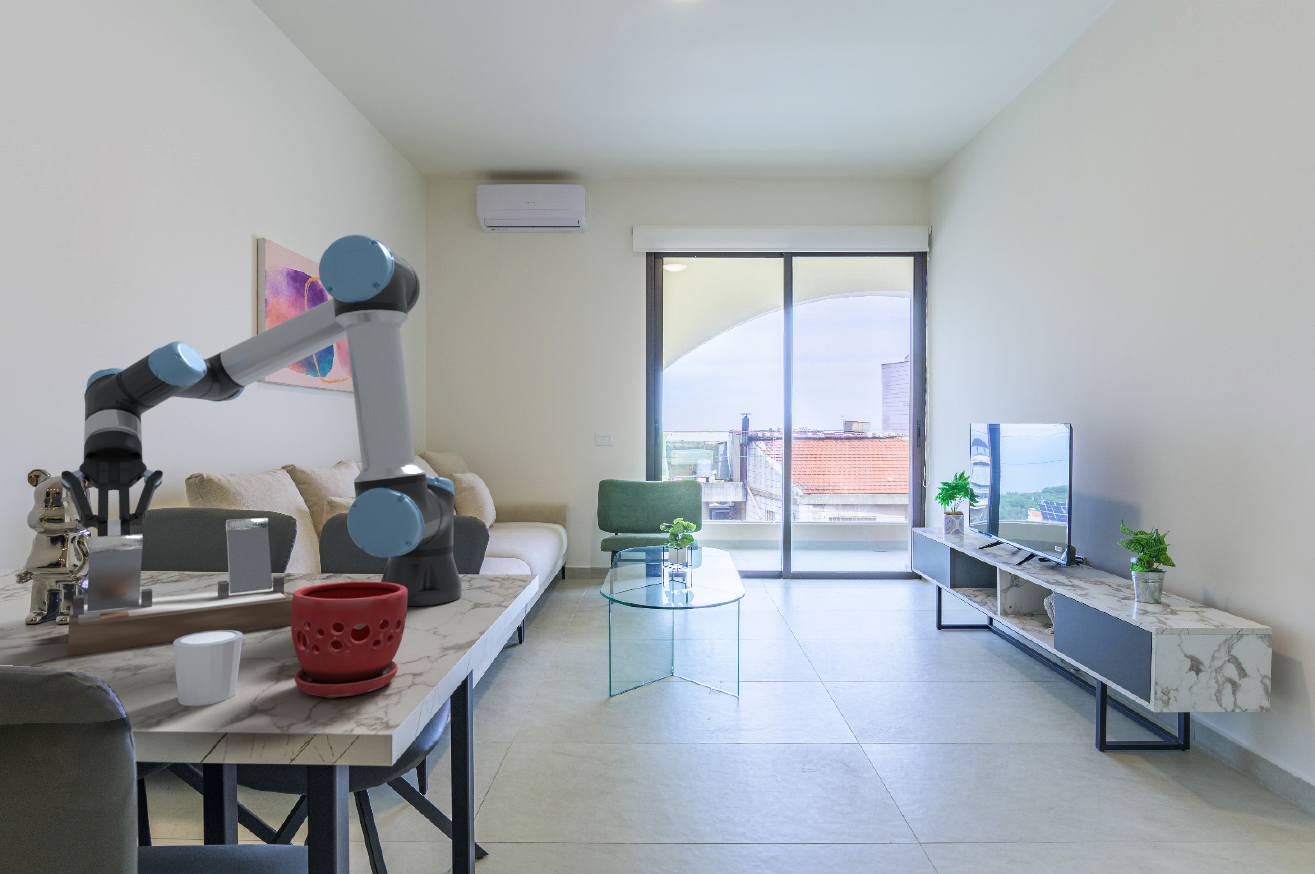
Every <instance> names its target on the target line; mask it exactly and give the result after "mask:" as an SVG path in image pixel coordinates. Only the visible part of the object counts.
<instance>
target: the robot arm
mask: <svg viewBox="0 0 1315 874" xmlns="http://www.w3.org/2000/svg"><path fill="white" fill-rule="evenodd" d="M318 276H319V281H320V283H321V285H322V287H323V288H324V290H325V291H326V293H327V294H328V295H330V296H331V297H332V298H331V299H329V300H327V301H326V300H325V301H323V302H322V303H320V304H318V305H315V306H314V307H312V308H309V309H307V310H306V311H304V312H301V313H299V314H297V315H295V316H292V317H290V318H289V319H287V320H285V321H283V322H281V323H278V324H276V325H275V326H272V327H270V328H269V329H266V330H264V331H262V332H259V333H257V334H256V335H253V336H252V337H250V338H247V339H245V340H243V341H241V342H239V343H237V344H234V345H233V346H231V347H229V348H227V349H224V350H222V351H220V352H218V353H216V354H215V355H212V356H210V357H207V358H203V357H202V355H201V354H200V353H199V352H198V351H197V350H196V349H195V348H193V347H192V346H189V345H188V344H187V343H185V342H182V341H172V342H170V343H167V344H166V345H164V346H161V347H158V348H156V349H154V350H153V351H152V352H151V353H149V354H147V355H146V356H144V357H142V358H141V359H139V360H138V361H136V362H134V363H133V364H131V365H130V366H128V367H126V368H124V369H123V368H120V367H110V368H107V369H99V370H97V371H95V372H94V373H92V374H91V375H90V376H89V377H88V378H87V382H86V389H85V392H84V396H83V397H84V429H83V430H84V431H83V433H84V434H83V437H84V438H83V439H84V440H83V442H84V444H83V461H82V463H81V464H80V465H79V467H78V469H76V470H74V471H71V470H64V471H61V474H60V478H61V486H62V487H63V488H64V489H66V491H68V492H69V494H70V498H71V501H72V503H73V504H74V507H75V511H76V513H77V516H78V518H79V521H80V523H81V526H82V527H83V528H84V529H89V528H95V529H96V531H97V536H96V537H99V536H116V535H131V528H132V527H133V526H137V527H138V526H143V524H144V522H145V520H146V516H147V513H148V512H149V508H150V505H151V502H152V499H153V496H154V493H155V491H156V490H157V489H158V488H159V487H160V486H161V485H162V483H163V474H164V472H163V471H162V470H160V469H157V470H154V471H153V470H150V469H148V467H147V465H146V463H144V461H143V444H142V443H143V442H142V441H143V438H142V437H143V436H142V435H143V434H142V415H143V414H144V413H146V412H147V411H149V410H151V409H153V408H154V407H156V406H158V405H160V404H161V403H164V402H165V401H166V400H168V399H170V398H186V399H196V400H205V401H210V402H215V403H217V402H227V401H233V400H235V399H236V398H238V397H240V395H241V394H242V393H243V391H244V390H245V388H246V387H247V386H249V385H251V384H253V383H256V382H257V381H259V380H262V379H264V378H266V377H268V376H269V375H272V374H274V373H277V372H279V371H281V370H283V369H285V368H286V367H289V366H290V365H292V364H296V363H297V362H299V361H301V360H303V359H305V358H308V357H310V356H313V355H314V354H316V353H318V352H320V351H322V350H324V349H326V348H328V347H330V346H332V345H335V344H336V343H339V342H341V341H343V340H345V339H347V342H348V343H347V345H348V354H349V355H348V356H349V361H350V372H351V381H352V382H351V383H352V388H353V389H352V391H353V398H354V408H355V415H356V417H355V418H356V425H357V434H358V444H359V452H360V461H361V471H360V472H359V474H358V475H357V476H356V477H355V478H354V480H353V484H354V496H355V499H354V501H353V503H352V505H350V507H349V510H348V512H347V519H346V522H347V529H348V533H349V535H350V538H351V540H352V541H353V543H354V544H355V545H356V546H358V548H359V549H360V550H362V551H364V552H365V553H367V554H369V555H371V556H374V557H377V558H388V561H387V563H386V566H385V569H384V572H383V574H382V577H381V580H380V582H386V583H394V584H399V585H402V586H404V587H406V588H407V590H408V597H407V607H420V606H421V607H423V606H424V607H425V606H433V605H440V604H447V603H449V602H453V601H456V600H458V599H460V598H461V597H462V595H463V594H462V591H463V589H462V588H463V587H462V586H463V584H462V581H461V579H460V575H459V571H458V569H457V565H456V563H455V559H454V523H455V522H454V518H455V517H454V516H455V515H454V514H455V511H454V510H455V498H456V494H455V489H454V488H455V486H454V482H453V481H452V479H449V478H446V477H439V476H435V477H434V476H428V475H427V473H426V471H425V470H424V469H422V468H421V467H420V466H418V464H417V463H416V459H415V449H414V441H413V440H414V439H413V431H412V422H411V415H410V414H411V413H410V407H409V406H410V405H409V396H408V387H407V379H406V370H405V363H404V361H405V360H404V354H403V353H404V352H403V343H402V342H403V341H402V335H401V328H402V326H403V324H404V323H405V322H406V321H407V320H408V318H409V317H408V316H409V315H408V314H409V313H410V312H411V311H412V310H413V308H414V307H415V305H416V304H417V303H418V300H419V297H420V292H421V286H420V280H419V277H418V274H417V272H416V270H415V269H414V267H413V266H412V265H411V264H410V263H409V262H408V261H406V260H405V259H404V258H402V257H401V256H399V255H398V254H396V252H394V251H393V250H391V249H390V248H389V247H388V246H387V245H386V244H384V243H383V242H382V241H380V240H378V239H374V238H372V237H370V236H367V235H364V234H350V235H345V236H342V237H340V238H338V239H336V240H334V241H333V242H332V243H331V244H330V245H329V246H328V248H327V249H325V251H324V252H323V253H322V256H321V257H320V260H319V266H318ZM142 478H144V479H143V483H144V485H143V489H142V491H141V494H140V497H139V500H138V502H137V505H136V508H135V511H134V512H133V513H131V507H130V504H131V503H130V502H131V501H130V499H131V498H130V489H131V488H133V486H134V485H136V484H137V483H138V482H139V481H140V480H142ZM83 480H84V481H86V482H87V483H89V484H90V485H91V486H92V487H94V488H95V489H97V514H94V513H93V511H92V509H91V506H90V502H89V500H88V498H87V495H86V492H85V490H84V488H83V484H82V483H83ZM109 491H118V519H109Z"/></svg>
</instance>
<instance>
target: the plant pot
mask: <svg viewBox="0 0 1315 874" xmlns="http://www.w3.org/2000/svg"><path fill="white" fill-rule="evenodd" d="M291 597H292V606H291V625H290V629H291V638H292V645H293V649H294V653H295V655H296V659H297V661H298V662H299V665H300V667H301V668H300V669H299V670H298V671H296V672H295V675H294V683H295V684H296V686H297V687H298V688H299V689H300V690H302V692H305V693H306V694H309V695H313V696H316V697H317V696H318V697H326V699H331V700H332V699H335V698H341V697H343V698H344V697H351V696H357V695H362V694H366V693H370V692H372V691H375V690H378V689H380V688H382V687H384V686H385V685H387V684H389V683H390V682H391V681H392V680H393V679H394V677H395V676H396V674H397V673H398V669H399V668H398V664H397V663H396V662H395V661H393V659H395V656H396V655H397V653H398V650H399V648H400V645H401V642H402V640H403V635H404V632H405V627H406V619H407V610H408V606H407V597H408V590H407V588H406V587H404V586H402V585H399V584H394V583H386V582H381V581H342V582H332V583H322V584H315V585H311V586H305V587H303V588H300V589H297V590H295V591H294V592H293V594H292V596H291ZM359 625H364V626H362V627H360V628H358V627H357V626H359Z"/></svg>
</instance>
